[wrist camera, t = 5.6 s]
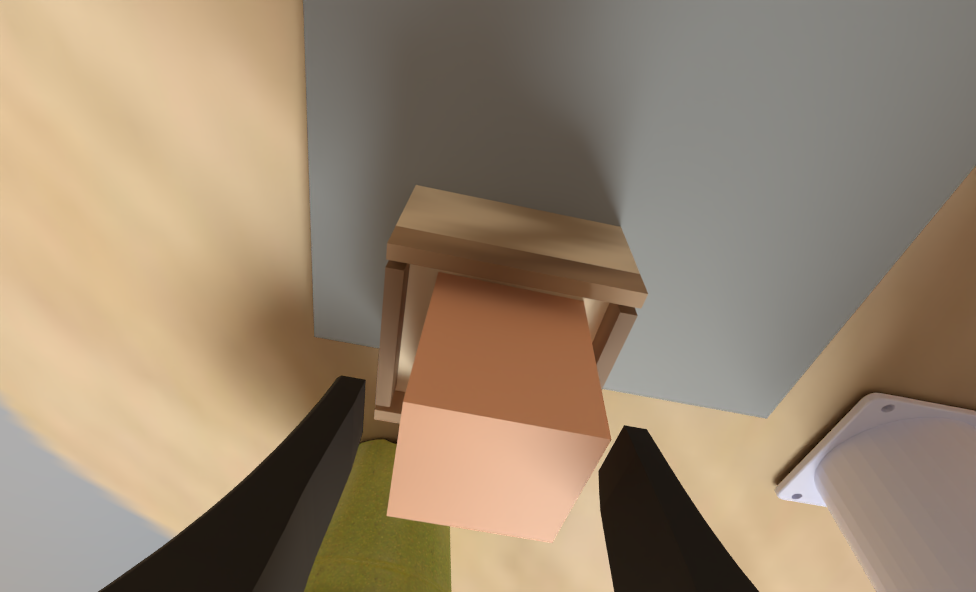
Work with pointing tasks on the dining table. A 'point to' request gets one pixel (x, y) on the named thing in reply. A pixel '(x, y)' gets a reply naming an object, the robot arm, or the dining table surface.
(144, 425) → the dining table surface
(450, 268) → the birch socket block
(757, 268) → the grey board
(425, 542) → the plant pot
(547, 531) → the terracotta block
